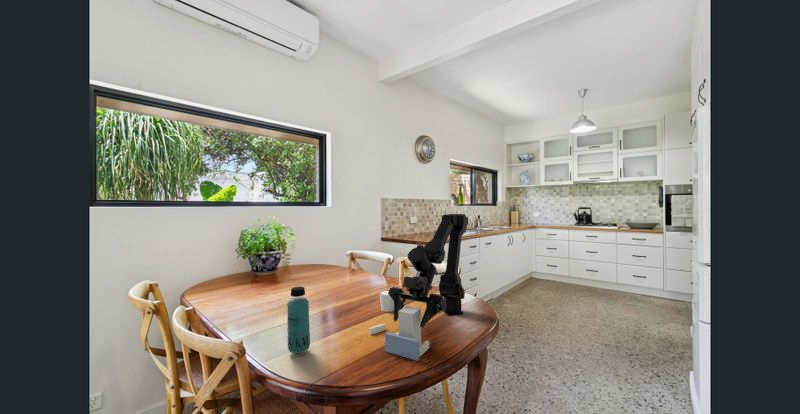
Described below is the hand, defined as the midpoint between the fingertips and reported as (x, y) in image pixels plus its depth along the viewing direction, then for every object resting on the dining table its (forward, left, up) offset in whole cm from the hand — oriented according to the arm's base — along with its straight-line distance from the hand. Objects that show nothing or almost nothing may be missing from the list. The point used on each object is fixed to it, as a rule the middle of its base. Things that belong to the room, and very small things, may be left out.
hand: (407, 324), depth 98 cm
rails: (+5, -11, -8) cm, 15 cm away
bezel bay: (0, 0, -8) cm, 8 cm away
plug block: (-1, -1, -8) cm, 8 cm away
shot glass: (-1, -35, -8) cm, 36 cm away
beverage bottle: (+32, -7, -8) cm, 34 cm away
